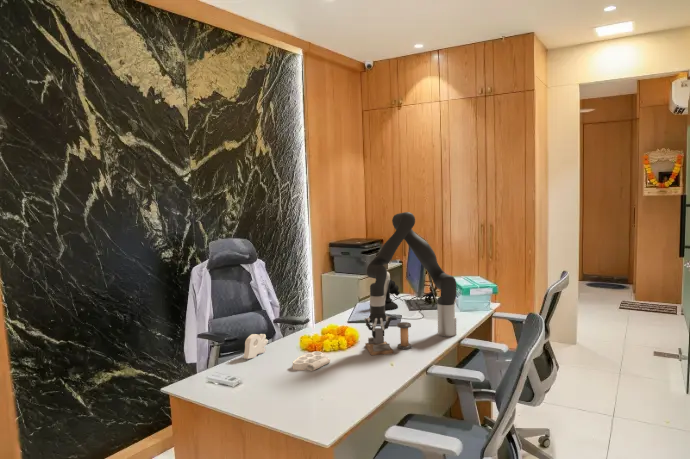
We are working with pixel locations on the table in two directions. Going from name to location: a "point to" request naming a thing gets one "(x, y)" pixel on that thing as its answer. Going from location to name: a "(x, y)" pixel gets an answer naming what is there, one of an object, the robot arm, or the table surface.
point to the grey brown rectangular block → (378, 336)
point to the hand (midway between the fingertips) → (378, 337)
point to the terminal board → (378, 347)
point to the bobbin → (404, 335)
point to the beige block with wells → (310, 361)
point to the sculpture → (390, 289)
